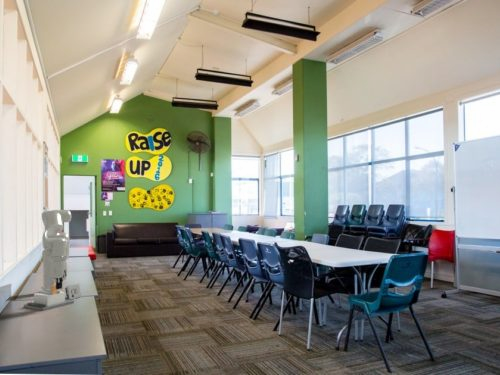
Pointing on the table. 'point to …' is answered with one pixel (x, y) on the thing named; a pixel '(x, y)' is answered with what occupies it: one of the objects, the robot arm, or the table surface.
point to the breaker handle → (54, 289)
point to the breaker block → (48, 300)
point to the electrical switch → (73, 291)
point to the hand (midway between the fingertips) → (59, 288)
